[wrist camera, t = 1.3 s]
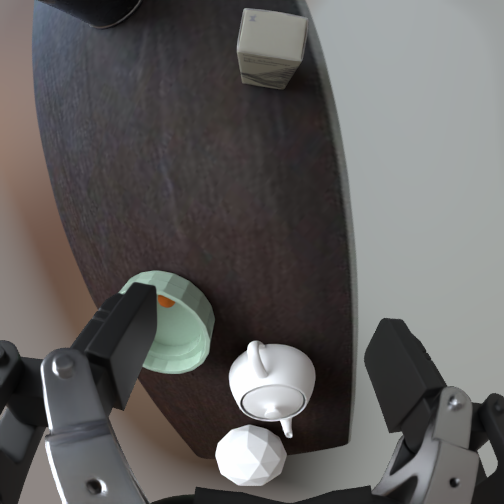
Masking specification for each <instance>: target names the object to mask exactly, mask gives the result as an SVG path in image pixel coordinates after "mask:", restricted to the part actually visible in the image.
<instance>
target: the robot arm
mask: <svg viewBox="0 0 504 504" xmlns="http://www.w3.org/2000/svg"><path fill="white" fill-rule="evenodd" d="M38 1H40V2H43V3H45V4H48V5H50V6H52V7H54V8H57V9H59V10H61V11H63V12H65V13H68V14H70V15H72V16H74V17H76V18H78V19H80V20H82V21H84V22H86V23H88V24H89V25H90V26H92V27H94V28H97V29H107V28H111V27H113V26H116V25H118V24H120V23H122V22H123V21H125V20H126V19H128V18H129V17H130V16H131V15H132V14H133V13H134V12H135V11H136V10H137V9H138V8H139V6H140V5H141V3H142V1H143V0H38ZM156 331H157V290H156V286H154V285H149V284H144V283H139V282H133V283H132V284H131V286H130V287H129V288H128V290H127V291H126V292H125V294H121V293H117V294H115V295H113V296H112V297H110V298H108V299H106V300H105V302H104V303H103V304H102V305H101V307H100V308H99V311H97V312H96V313H95V314H94V316H93V319H91V320H90V321H89V322H88V324H87V325H86V326H85V328H84V329H83V330H82V332H81V333H80V334H79V336H78V337H77V338H76V340H75V341H74V343H73V344H72V346H71V347H70V348H60V349H56V350H54V351H52V352H50V353H49V354H48V355H47V356H46V357H45V358H44V359H35V358H27V357H20V354H19V352H18V350H17V348H16V346H15V345H14V344H13V343H11V342H9V341H5V340H0V415H1V413H2V411H3V409H4V407H5V406H7V409H6V411H5V413H4V415H3V416H2V418H1V420H0V504H18V501H19V498H20V494H21V491H22V488H23V485H24V482H25V479H26V476H27V474H28V471H29V468H30V465H31V463H32V460H33V457H34V455H35V452H36V450H37V447H38V445H39V443H40V440H41V438H42V436H43V433H44V431H45V429H46V427H49V430H50V434H49V435H46V436H45V446H46V451H47V455H48V459H49V462H50V466H51V469H52V473H53V476H54V479H55V483H56V485H57V489H58V491H59V494H60V497H61V500H62V503H63V504H504V397H503V396H501V395H499V394H496V393H492V394H490V395H489V396H488V398H487V399H486V400H485V401H484V402H483V403H482V404H480V403H473V402H471V400H470V398H469V396H468V395H467V394H466V393H465V392H464V391H463V390H461V389H459V388H457V387H454V386H449V387H447V385H446V383H445V381H444V379H443V378H442V376H441V374H440V373H439V371H438V369H437V368H436V366H435V364H434V363H433V361H431V358H430V356H429V354H428V353H426V349H425V348H424V346H423V345H422V343H421V342H420V341H419V340H418V339H417V338H416V337H415V336H414V335H413V334H412V333H411V332H410V330H409V329H408V327H407V325H406V324H405V323H404V321H403V320H401V319H390V318H384V319H382V320H381V321H380V323H379V325H378V327H377V329H376V331H375V333H374V335H373V337H372V339H371V341H370V343H369V345H368V347H367V349H366V352H365V356H364V362H365V366H366V369H367V372H368V374H369V377H370V380H371V382H372V385H373V388H374V390H375V393H376V396H377V399H378V402H379V404H380V407H381V410H382V413H383V416H384V419H385V422H386V425H387V428H388V431H389V433H394V432H400V431H402V433H403V436H402V437H401V438H400V439H399V441H398V443H397V446H396V448H395V450H394V453H393V455H392V457H391V460H390V462H389V464H388V467H387V469H386V471H385V473H384V475H383V477H382V479H381V481H380V482H379V483H378V484H377V486H376V487H375V488H374V489H373V490H372V491H371V486H370V485H369V486H364V487H358V488H351V489H344V490H336V491H332V492H328V493H325V494H322V495H319V496H316V497H313V498H309V499H306V500H302V501H298V502H295V503H284V502H279V501H274V500H270V499H266V498H262V497H258V496H254V495H250V494H247V493H243V492H233V491H232V492H231V491H223V490H215V489H207V488H201V487H196V489H195V494H193V495H180V496H173V497H168V498H164V499H161V500H158V501H155V502H152V503H150V502H149V501H148V499H147V498H146V496H145V494H144V492H143V490H142V488H141V487H140V485H139V483H138V481H137V479H136V478H135V476H134V474H133V472H132V470H131V468H130V466H129V464H128V462H127V460H126V458H125V456H124V453H123V451H122V449H121V447H120V444H119V442H118V440H117V437H116V435H115V433H114V430H113V428H112V425H111V422H110V420H109V415H110V413H111V410H112V408H113V407H114V408H116V409H120V410H123V411H124V409H125V406H126V404H127V402H128V399H129V397H130V394H131V392H132V389H133V387H134V385H135V382H136V380H137V378H138V375H139V373H140V371H141V368H142V366H143V364H144V361H145V359H146V357H147V354H148V352H149V350H150V348H151V345H152V343H153V341H154V339H155V335H156ZM488 440H490V443H491V445H492V447H493V450H494V452H495V455H496V457H497V460H498V466H497V469H496V471H495V472H494V473H493V474H492V475H490V476H489V477H487V476H486V474H485V471H484V468H483V465H482V462H481V460H480V457H479V454H478V452H477V450H478V449H479V448H481V446H482V445H484V444H485V443H486V442H487V441H488Z"/></svg>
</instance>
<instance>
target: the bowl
mask: <svg viewBox="0 0 504 504" xmlns="http://www.w3.org/2000/svg"><path fill="white" fill-rule="evenodd" d="M133 282H139V283H144V284H149V285H154V286H156V290H157V331H156V335H155V339H154V341H153V343H152V345H151V348H150V350H149V352H148V354H147V357H146V359H145V361H144V364H143V367H145V368H147V369H149V370H152V371H156V372H161V373H166V374H180V373H184V372H188V371H192V370H194V369H195V368H197V367H198V366H199V365H201V364H202V363H203V362H204V360H205V359H206V357H207V356H208V354H209V351H210V346H211V341H212V337H213V332H214V324H215V317H214V313H213V310H212V306H211V304H210V303H209V301H208V300H207V298H206V297H205V295H204V294H203V293H202V292H201V291H200V290H199V289H198V288H197V287H196V286H194V285H193V284H192V283H191V282H190V281H188V280H186V279H184V278H182V277H180V276H178V275H176V274H174V273H168V272H163V271H149V272H142V273H140V274H138V275H136V276H134V277H132V278H130V279H129V281H128V282H127V283H126V284H125V286H124V287H123V288H122V289H121V291H120V292H119V293H121V294H125V292H126V291H127V290H128V288H129V287H130V286H131V284H132V283H133ZM158 295H163V296H165V297H167V298H169V299H171V300H173V301H175V304H174V305H173V306H172V307H169V308H165V307H162V306H161V305H160V304H159V302H158Z"/></svg>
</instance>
